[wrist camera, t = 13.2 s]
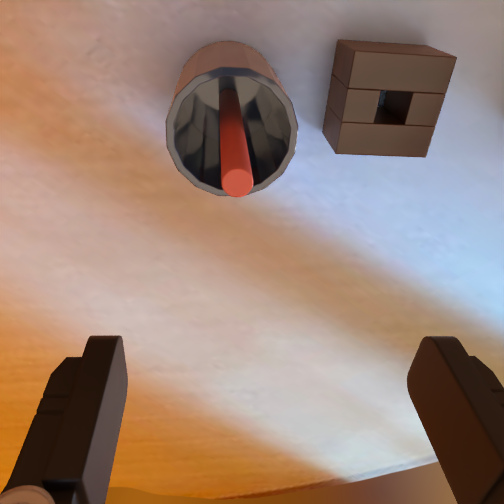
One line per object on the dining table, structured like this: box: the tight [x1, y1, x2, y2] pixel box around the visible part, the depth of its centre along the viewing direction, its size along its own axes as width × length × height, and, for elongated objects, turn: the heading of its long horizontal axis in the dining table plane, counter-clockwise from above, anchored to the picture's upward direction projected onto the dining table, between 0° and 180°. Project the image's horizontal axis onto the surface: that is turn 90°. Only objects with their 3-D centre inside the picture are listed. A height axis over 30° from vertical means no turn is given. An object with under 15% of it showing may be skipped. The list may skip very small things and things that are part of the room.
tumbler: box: [166, 41, 298, 196], centre depth 31 cm, size 8×8×10 cm
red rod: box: [219, 89, 253, 197], centre depth 28 cm, size 2×2×16 cm
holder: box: [322, 40, 457, 157], centre depth 33 cm, size 7×7×5 cm
